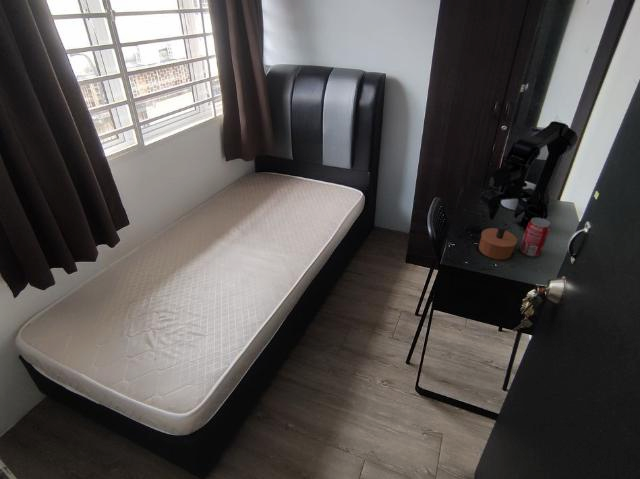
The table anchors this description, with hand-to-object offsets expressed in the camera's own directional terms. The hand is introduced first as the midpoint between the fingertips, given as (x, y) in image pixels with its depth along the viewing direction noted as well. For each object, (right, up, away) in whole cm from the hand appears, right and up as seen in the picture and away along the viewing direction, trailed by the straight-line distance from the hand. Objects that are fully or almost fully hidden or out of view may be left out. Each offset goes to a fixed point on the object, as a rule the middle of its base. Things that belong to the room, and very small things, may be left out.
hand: (503, 218), depth 136 cm
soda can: (+12, -12, +5) cm, 18 cm away
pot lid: (0, -7, +3) cm, 8 cm away
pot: (0, -12, +6) cm, 13 cm away
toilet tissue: (+22, +8, +35) cm, 42 cm away
